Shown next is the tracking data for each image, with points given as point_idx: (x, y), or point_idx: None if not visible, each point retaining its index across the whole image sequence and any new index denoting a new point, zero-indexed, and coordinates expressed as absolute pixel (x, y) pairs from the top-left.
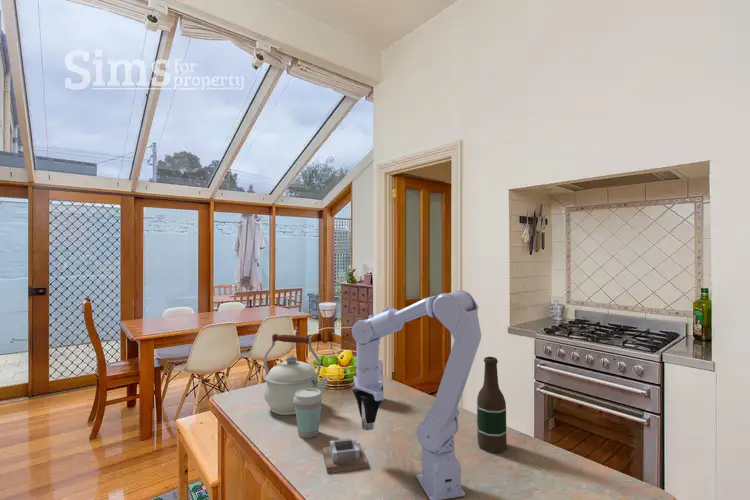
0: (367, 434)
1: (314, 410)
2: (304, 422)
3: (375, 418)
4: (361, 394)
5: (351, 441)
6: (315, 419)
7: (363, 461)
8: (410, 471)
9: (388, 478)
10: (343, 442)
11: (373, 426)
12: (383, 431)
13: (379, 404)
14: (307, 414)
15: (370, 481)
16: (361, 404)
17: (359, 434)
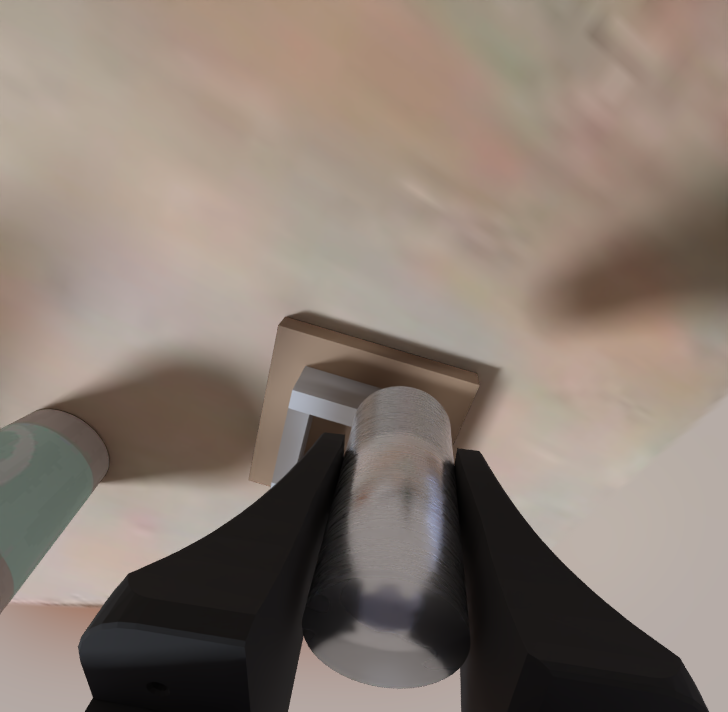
0: (149, 198)
1: (11, 549)
2: (59, 534)
3: (489, 469)
4: (278, 709)
5: (311, 411)
6: (46, 498)
7: (458, 396)
8: (664, 202)
9: (625, 341)
10: (302, 446)
11: (443, 415)
12: (137, 70)
13: (584, 590)
14: (33, 564)
15: (584, 417)
16: (309, 584)
17: (135, 242)
